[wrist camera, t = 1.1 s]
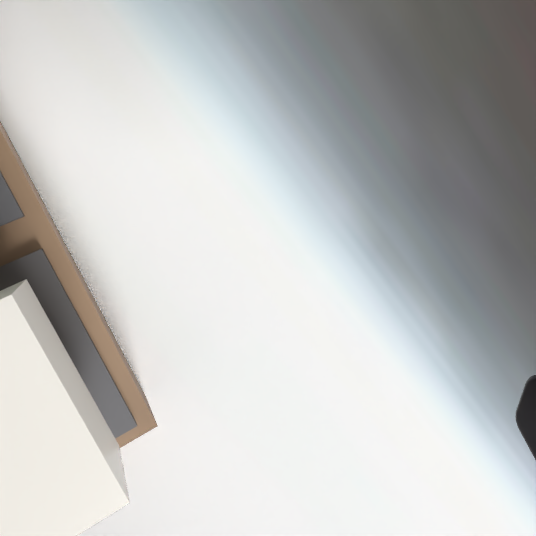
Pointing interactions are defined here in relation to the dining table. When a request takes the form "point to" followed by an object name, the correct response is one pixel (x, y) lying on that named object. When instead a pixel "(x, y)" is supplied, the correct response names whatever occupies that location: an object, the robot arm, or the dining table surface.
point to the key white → (49, 431)
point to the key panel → (65, 299)
